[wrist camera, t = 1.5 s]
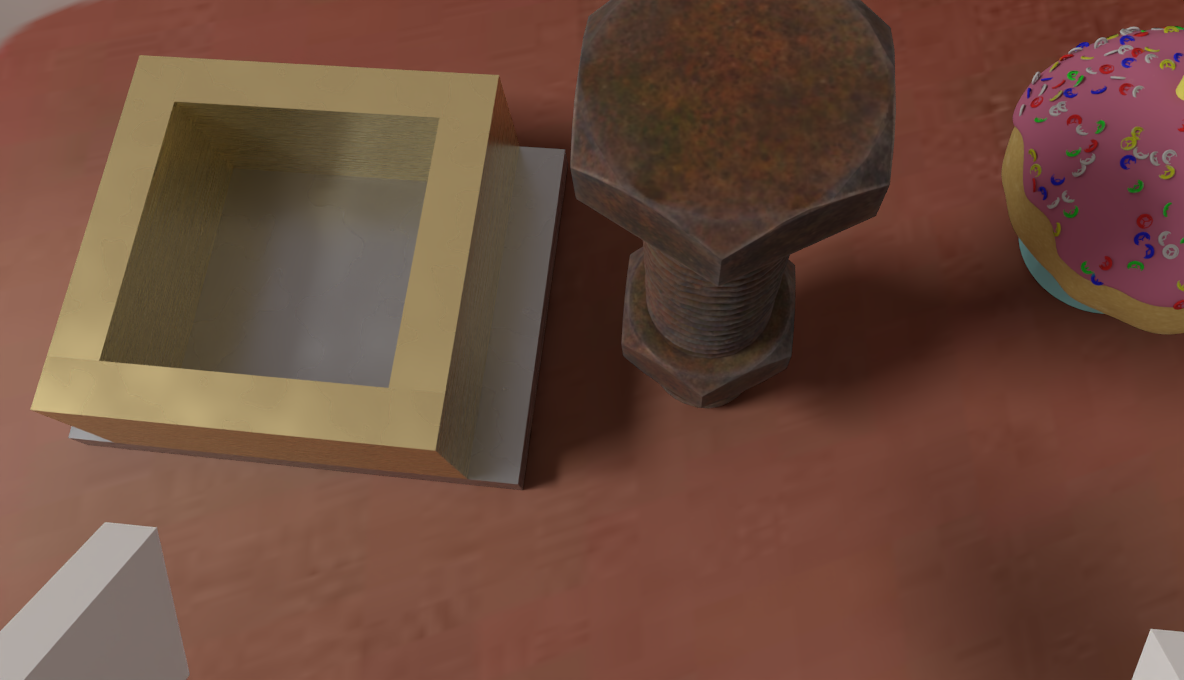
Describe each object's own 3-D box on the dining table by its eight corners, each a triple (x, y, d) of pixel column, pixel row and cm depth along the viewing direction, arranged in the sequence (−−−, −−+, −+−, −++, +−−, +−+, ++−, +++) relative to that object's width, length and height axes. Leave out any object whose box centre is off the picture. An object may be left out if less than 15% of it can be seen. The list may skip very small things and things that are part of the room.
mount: (568, 164, 32) (550, 78, 27) (522, 490, 28) (493, 456, 24) (174, 138, 33) (93, 52, 29) (87, 444, 30) (-22, 404, 25)
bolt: (651, 474, 28) (634, 288, 14) (583, 330, 30) (506, 34, 16) (826, 394, 29) (981, 134, 14) (749, 256, 30) (820, -100, 16)
